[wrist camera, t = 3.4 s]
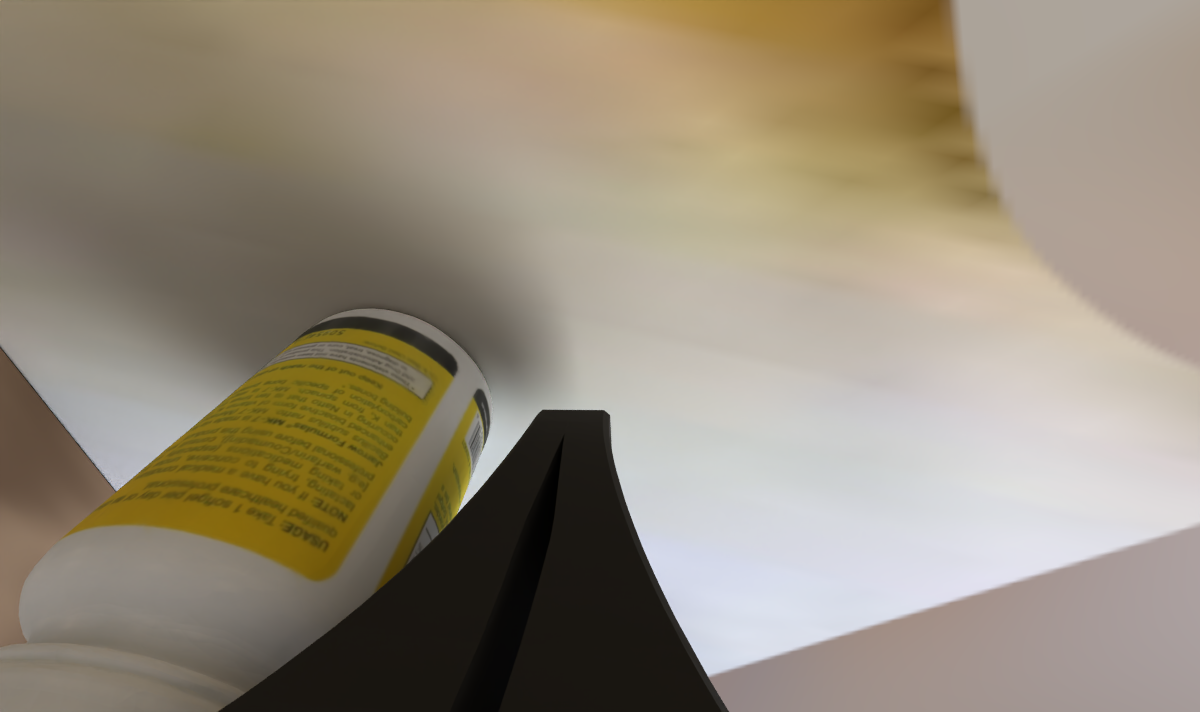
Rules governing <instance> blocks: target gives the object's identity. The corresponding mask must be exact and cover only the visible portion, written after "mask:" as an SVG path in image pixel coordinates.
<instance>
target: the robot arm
mask: <svg viewBox="0 0 1200 712" xmlns="http://www.w3.org/2000/svg"><path fill="white" fill-rule="evenodd" d="M218 712H729V711H728V710H727V708H726V706H725V705H724V703H723V701H722V700H721V698H720V696H719V695H718V693H717V691H716V690H715V688H714V686H713V685H712V683H711V682H710V680H709V678H708V676H707V674H706V672H705V671H704V669H703V667H702V665H701V663H700V662H699V660H698V658H697V656H696V654H695V652H694V651H693V649H692V647H691V645H690V643H689V642H688V640H687V638H686V636H685V634H684V632H683V631H682V629H681V627H680V625H679V623H678V622H677V620H676V618H675V616H674V614H673V612H672V610H671V608H670V606H669V604H668V602H667V600H666V598H665V596H664V594H663V592H662V590H661V587H660V585H659V583H658V581H657V579H656V577H655V574H654V572H653V570H652V568H651V566H650V563H649V561H648V559H647V557H646V554H645V552H644V550H643V547H642V545H641V542H640V540H639V537H638V535H637V532H636V529H635V527H634V524H633V521H632V519H631V516H630V513H629V511H628V508H627V505H626V502H625V499H624V496H623V492H622V489H621V485H620V482H619V478H618V475H617V472H616V468H615V464H614V459H613V454H612V447H611V427H610V415H609V414H608V413H607V412H605V411H604V410H542V411H541V412H540V413H539V414H538V415H537V416H536V417H535V419H534V420H533V422H532V423H531V424H530V426H529V427H528V429H527V430H526V431H525V433H524V434H523V435H522V437H521V438H520V439H519V441H518V442H517V443H516V445H515V446H514V447H513V449H512V450H511V451H510V453H509V454H508V455H507V456H506V458H505V459H504V460H503V461H502V463H501V464H500V465H499V466H498V468H497V469H496V470H495V471H494V472H493V474H492V475H491V476H490V477H489V479H488V480H487V481H486V482H485V483H484V485H483V486H482V487H481V488H480V489H479V490H478V492H477V493H476V494H475V495H474V496H473V497H472V498H471V499H470V501H469V502H468V503H467V504H466V505H465V506H464V507H463V508H462V509H461V510H460V512H459V513H458V514H457V515H456V516H455V517H454V518H453V519H452V520H451V521H450V523H449V524H448V525H447V526H446V527H445V528H444V529H443V530H442V531H441V532H440V533H439V534H438V535H437V536H436V537H435V538H434V539H433V540H432V541H431V542H430V543H429V544H428V545H427V546H426V547H425V548H424V549H423V550H422V551H421V552H420V553H419V554H418V555H416V556H415V557H414V558H413V559H412V560H411V561H410V562H409V563H408V564H407V565H406V566H405V567H404V568H403V569H402V570H400V571H399V572H398V573H397V574H396V575H395V576H394V577H393V578H391V579H390V580H389V581H388V582H387V583H386V584H385V585H383V586H382V587H381V588H380V589H379V590H378V591H377V592H375V593H374V594H373V595H372V596H371V597H370V598H368V599H367V600H366V601H365V602H364V603H363V604H362V605H360V606H359V607H358V608H357V609H355V610H354V611H353V612H352V613H351V614H349V615H348V616H347V617H346V618H345V619H343V620H342V621H341V622H340V623H338V624H337V625H336V626H335V627H333V628H332V629H331V630H329V631H328V632H327V633H325V634H324V635H323V636H321V637H320V638H319V639H317V640H316V641H315V642H314V643H312V644H311V645H310V646H308V647H307V648H306V649H304V650H303V651H302V652H300V653H299V654H298V655H296V656H295V657H294V658H292V659H291V660H290V661H288V662H287V663H286V664H284V665H283V666H282V667H280V668H279V669H278V670H276V671H275V672H274V673H272V674H271V675H270V676H268V677H267V678H265V679H264V680H263V681H261V682H260V683H259V684H257V685H256V686H254V687H253V688H251V689H250V690H249V691H247V692H246V693H244V694H243V695H241V696H240V697H239V698H237V699H236V700H234V701H233V702H231V703H230V704H228V705H227V706H225V707H224V708H222V709H221V710H219V711H218Z"/></svg>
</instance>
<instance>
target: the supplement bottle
mask: <svg viewBox="0 0 1200 712" xmlns="http://www.w3.org/2000/svg"><path fill="white" fill-rule="evenodd" d="M492 414H493V407H492V399H491V395H490V390H489V388H488V385H487V382H486V380H485V378H484V376H483V375H482V373H481V371H480V370H479V368H478V367H477V365H476V364H475V363H474V361H473V360H472V359H471V358H470V356H469V355H468V354H467V353H466V352H465V351H464V350H463V349H462V348H461V347H460V346H459V345H458V344H457V343H456V342H454V341H453V340H452V339H451V338H450V337H448V336H447V335H446V334H444V333H443V332H442V331H440V330H439V329H437V328H436V327H434V326H432V325H430V324H429V323H427V322H425V321H423V320H420V319H418V318H416V317H413V316H410V315H407V314H403V313H400V312H395V311H390V310H385V309H373V308H369V309H355V310H350V311H345V312H341V313H338V314H335V315H332V316H330V317H328V318H326V319H324V320H322V321H320V322H319V323H317V324H316V325H314V326H313V327H311V328H310V329H309V330H307V331H306V332H305V333H303V334H302V335H301V336H300V337H299V338H297V339H296V340H295V341H294V342H293V343H292V344H291V345H290V346H288V347H287V348H286V349H285V350H283V351H282V352H281V353H280V354H278V355H277V356H276V357H275V358H274V359H273V360H271V361H270V362H269V363H268V364H267V365H266V366H264V367H263V368H262V369H261V370H260V371H258V372H257V373H256V374H255V375H254V376H253V377H251V378H250V379H249V380H248V381H246V382H245V383H244V384H243V385H242V386H241V387H239V388H238V389H237V390H236V391H235V392H233V393H232V394H231V395H230V396H229V397H228V398H227V399H225V400H224V401H223V402H222V403H221V404H220V405H218V406H217V407H216V408H215V409H214V410H213V411H211V412H210V413H209V414H208V415H206V416H205V417H204V418H203V419H202V420H201V421H199V422H198V423H197V424H196V425H195V426H193V427H192V428H191V429H190V430H189V431H188V432H186V433H185V434H184V435H183V436H182V437H180V438H179V439H178V440H177V441H176V442H174V443H173V444H172V445H171V446H170V447H168V448H167V449H166V450H165V451H164V452H163V453H161V454H160V455H159V456H158V457H157V458H156V459H154V460H153V461H152V462H151V463H150V464H149V465H147V466H146V467H145V468H144V469H143V470H141V471H140V472H139V473H138V474H137V475H136V476H134V477H133V478H132V479H131V480H130V481H129V482H127V483H126V484H125V485H124V486H123V487H121V488H120V489H119V490H118V491H117V492H116V493H114V494H113V495H112V496H111V497H110V498H108V499H107V500H106V501H105V502H104V503H103V504H101V505H100V506H99V507H98V508H97V509H95V510H94V511H93V512H92V513H91V514H90V515H88V516H87V517H86V518H85V519H84V520H82V521H81V522H80V523H79V524H78V525H77V526H75V527H74V528H73V529H72V530H71V531H70V532H68V533H67V534H66V535H65V536H64V537H62V538H61V539H60V540H59V541H58V542H57V543H55V545H54V546H53V547H52V548H51V549H50V550H49V551H48V552H47V553H46V554H45V555H44V556H43V558H42V559H41V560H40V561H39V562H38V563H37V564H36V565H35V567H34V568H33V570H32V571H31V573H30V574H29V576H28V577H27V579H26V580H25V582H24V585H23V588H22V592H21V596H20V603H19V620H20V625H21V628H22V632H23V635H24V637H25V638H26V640H27V643H26V644H14V645H9V646H4V647H0V712H218V711H219V710H221V709H222V708H224V707H225V706H227V705H228V704H230V703H231V702H233V701H234V700H236V699H237V698H239V697H240V696H241V695H243V694H244V693H246V692H247V691H249V690H250V689H251V688H253V687H254V686H256V685H257V684H259V683H260V682H261V681H263V680H264V679H265V678H267V677H268V676H270V675H271V674H272V673H274V672H275V671H276V670H278V669H279V668H280V667H282V666H283V665H284V664H286V663H287V662H288V661H290V660H291V659H292V658H294V657H295V656H296V655H298V654H299V653H300V652H302V651H303V650H304V649H306V648H307V647H308V646H310V645H311V644H312V643H314V642H315V641H316V640H317V639H319V638H320V637H321V636H323V635H324V634H325V633H327V632H328V631H329V630H331V629H332V628H333V627H335V626H336V625H337V624H338V623H340V622H341V621H342V620H343V619H345V618H346V617H347V616H348V615H349V614H351V613H352V612H353V611H354V610H355V609H357V608H358V607H359V606H360V605H362V604H363V603H364V602H365V601H366V600H367V599H368V598H370V597H371V596H372V595H373V594H374V593H375V592H377V591H378V590H379V589H380V588H381V587H382V586H383V585H385V584H386V583H387V582H388V581H389V580H390V579H391V578H393V577H394V576H395V575H396V574H397V573H398V572H399V571H400V570H402V569H403V568H404V567H405V566H406V565H407V564H408V563H409V562H410V561H411V560H412V559H413V558H414V557H415V556H416V555H418V554H419V553H420V552H421V551H422V550H423V549H424V548H425V547H426V546H427V545H428V544H429V543H430V542H431V541H432V540H433V539H434V538H435V537H436V536H437V535H438V534H439V533H440V532H441V531H442V530H443V529H444V528H445V527H446V526H447V525H448V524H449V523H450V521H451V520H452V519H453V518H454V517H455V516H456V515H457V512H458V510H459V507H460V505H461V502H462V500H463V497H464V495H465V492H466V490H467V487H468V485H469V482H470V480H471V477H472V475H473V472H474V470H475V467H476V465H477V462H478V460H479V457H480V455H481V452H482V450H483V448H484V445H485V443H486V440H487V437H488V434H489V431H490V428H491V423H492Z"/></svg>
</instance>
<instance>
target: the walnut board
mask: <svg viewBox="0 0 1200 712" xmlns="http://www.w3.org/2000/svg"><path fill="white" fill-rule="evenodd" d="M114 493H116V492H115V491H114V490H113V488H112V487H111V486H110V485H109V483H108V482H107V481H106V480H105V478H104V477H103V476H102V475H101V473H100V472H99V471H98V470H97V468H96V467H95V466H94V465H93V463H92V462H91V461H90V460H89V458H88V457H87V456H86V455H85V453H84V452H83V451H82V450H81V448H80V447H79V446H78V445H77V443H76V442H75V441H74V440H73V438H72V437H71V436H70V435H69V433H68V432H67V431H66V430H65V428H64V427H63V426H62V425H61V423H60V422H59V421H58V420H57V418H56V417H55V416H54V415H53V413H52V412H51V411H50V410H49V408H48V407H47V406H46V405H45V403H44V402H43V401H42V400H41V398H40V397H39V396H38V395H37V393H36V392H35V391H34V390H33V388H32V387H31V386H30V385H29V383H28V382H27V381H26V380H25V378H24V377H23V376H22V375H21V373H20V372H19V371H18V370H17V368H16V367H15V366H14V365H13V363H12V362H11V361H10V360H9V358H8V357H7V356H6V355H5V353H4V352H3V351H2V350H1V348H0V647H4V646H9V645H14V644H26V643H27V640H26V638H25V637H24V635H23V632H22V628H21V625H20V620H19V603H20V596H21V592H22V588H23V585H24V582H25V580H26V579H27V577H28V576H29V574H30V573H31V571H32V570H33V568H34V567H35V565H36V564H37V563H38V562H39V561H40V560H41V559H42V558H43V556H44V555H45V554H46V553H47V552H48V551H49V550H50V549H51V548H52V547H53V546H54V545H55V543H57V542H58V541H59V540H60V539H61V538H62V537H64V536H65V535H66V534H67V533H68V532H70V531H71V530H72V529H73V528H74V527H75V526H77V525H78V524H79V523H80V522H81V521H82V520H84V519H85V518H86V517H87V516H88V515H90V514H91V513H92V512H93V511H94V510H95V509H97V508H98V507H99V506H100V505H101V504H103V503H104V502H105V501H106V500H107V499H108V498H110V497H111V496H112V495H113V494H114Z"/></svg>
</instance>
